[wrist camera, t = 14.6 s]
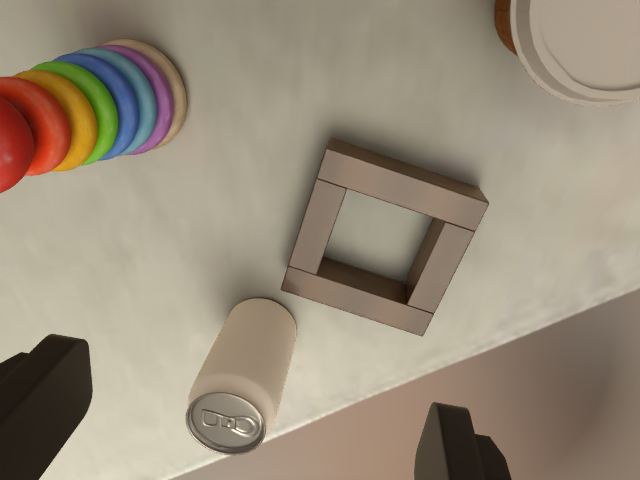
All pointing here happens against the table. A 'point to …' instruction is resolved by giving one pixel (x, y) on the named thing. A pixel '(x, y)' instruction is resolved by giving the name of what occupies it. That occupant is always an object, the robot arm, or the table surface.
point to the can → (242, 378)
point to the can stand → (400, 189)
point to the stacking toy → (88, 109)
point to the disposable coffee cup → (576, 47)
